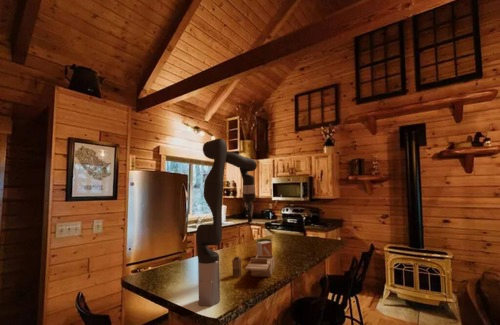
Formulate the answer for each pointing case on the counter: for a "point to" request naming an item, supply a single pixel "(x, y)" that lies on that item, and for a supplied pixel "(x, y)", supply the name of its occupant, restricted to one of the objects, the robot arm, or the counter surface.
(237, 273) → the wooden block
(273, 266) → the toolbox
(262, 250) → the small box
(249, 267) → the lid
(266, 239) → the plant pot
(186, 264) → the counter surface
